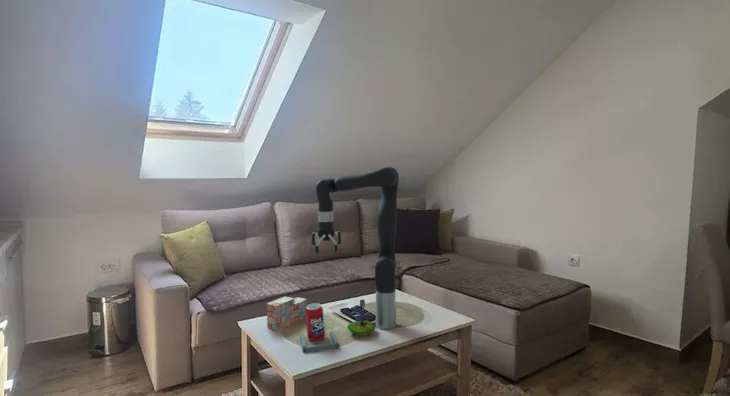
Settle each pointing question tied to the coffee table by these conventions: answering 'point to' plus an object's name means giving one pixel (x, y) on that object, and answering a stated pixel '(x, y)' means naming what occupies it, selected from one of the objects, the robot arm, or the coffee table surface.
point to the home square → (322, 346)
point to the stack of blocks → (285, 312)
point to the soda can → (314, 321)
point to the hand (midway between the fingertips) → (326, 252)
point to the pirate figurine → (361, 323)
